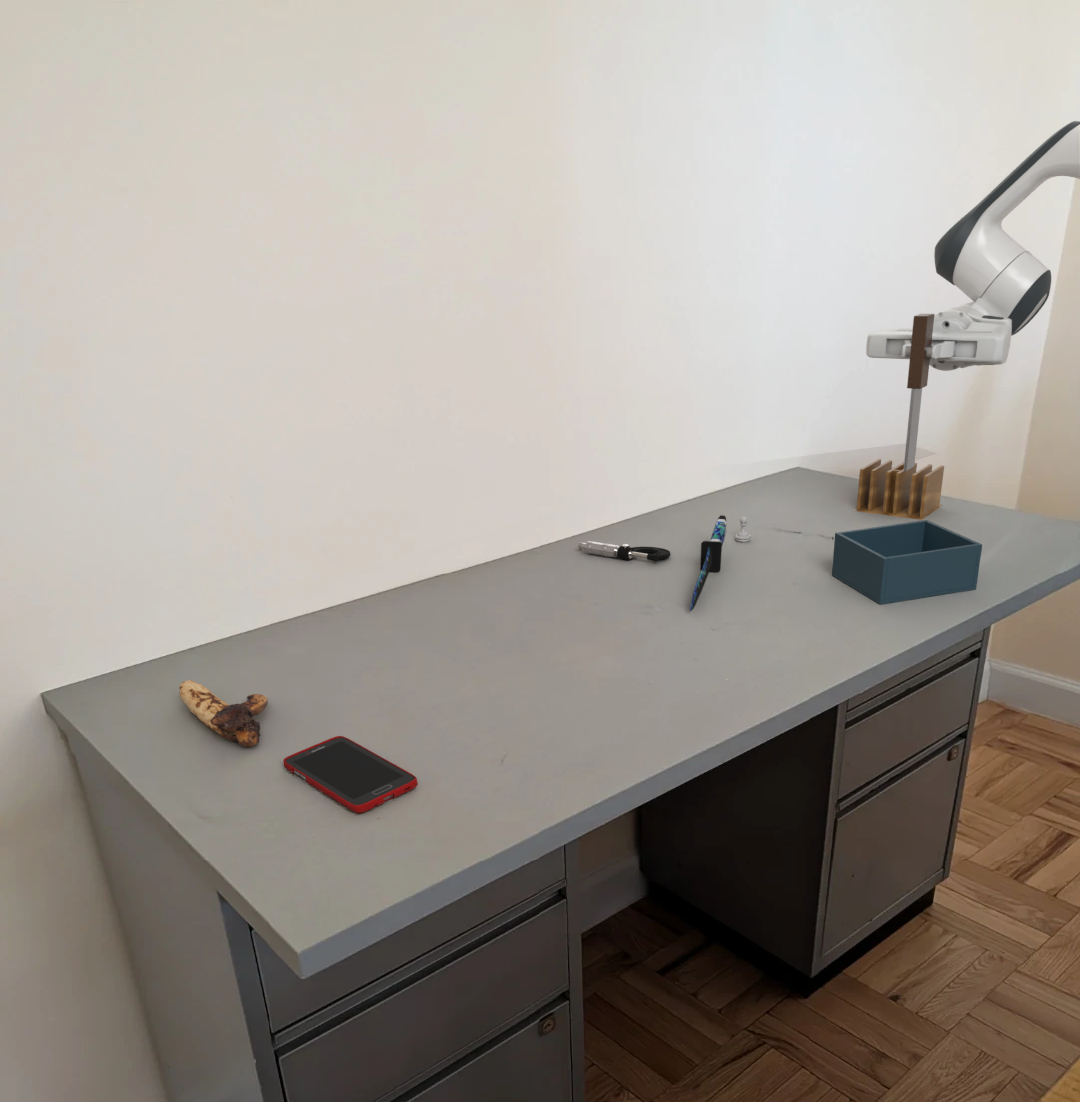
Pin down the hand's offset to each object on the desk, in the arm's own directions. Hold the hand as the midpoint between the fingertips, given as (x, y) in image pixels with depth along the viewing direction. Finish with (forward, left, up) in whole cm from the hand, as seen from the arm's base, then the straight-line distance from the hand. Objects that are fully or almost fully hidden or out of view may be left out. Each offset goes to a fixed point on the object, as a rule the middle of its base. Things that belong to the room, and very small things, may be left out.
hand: (918, 352), depth 150 cm
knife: (+32, 0, -30) cm, 44 cm away
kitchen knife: (-1, 0, -17) cm, 17 cm away
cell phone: (+90, +42, -30) cm, 104 cm away
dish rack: (-11, -17, -30) cm, 36 cm away
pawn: (+19, -15, -30) cm, 39 cm away
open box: (+7, +13, -30) cm, 33 cm away
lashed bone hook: (+102, +23, -30) cm, 109 cm away
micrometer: (+39, -16, -30) cm, 52 cm away
